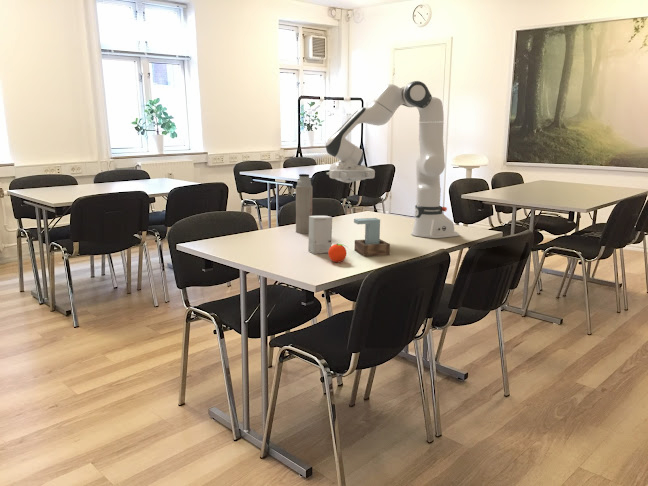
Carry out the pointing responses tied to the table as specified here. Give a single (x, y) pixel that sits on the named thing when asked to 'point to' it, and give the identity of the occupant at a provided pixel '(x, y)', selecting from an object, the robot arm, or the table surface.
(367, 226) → the bracket
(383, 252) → the well block
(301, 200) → the thermos bottle
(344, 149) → the robot arm
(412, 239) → the table surface
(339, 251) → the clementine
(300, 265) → the table surface
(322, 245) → the skincare box
